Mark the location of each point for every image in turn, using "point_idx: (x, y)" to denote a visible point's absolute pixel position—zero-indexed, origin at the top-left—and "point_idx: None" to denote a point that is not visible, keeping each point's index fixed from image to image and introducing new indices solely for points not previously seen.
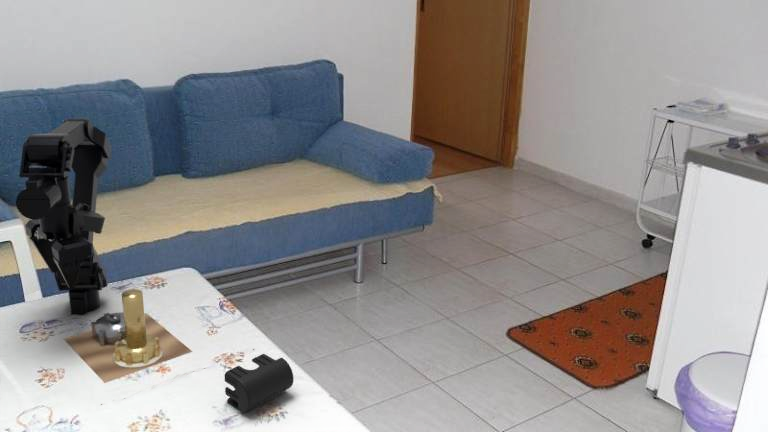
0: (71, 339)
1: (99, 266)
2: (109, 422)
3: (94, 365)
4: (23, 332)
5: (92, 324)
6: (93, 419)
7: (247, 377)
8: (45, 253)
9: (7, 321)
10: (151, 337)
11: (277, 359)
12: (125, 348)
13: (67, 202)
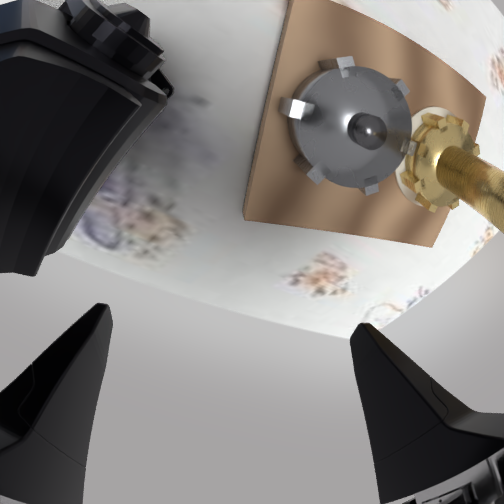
0: (263, 208)
1: (121, 20)
2: (454, 269)
3: (391, 231)
4: (116, 245)
5: (319, 181)
6: (439, 278)
7: None
8: (82, 436)
9: None
10: (458, 128)
11: None
12: (442, 193)
13: None
